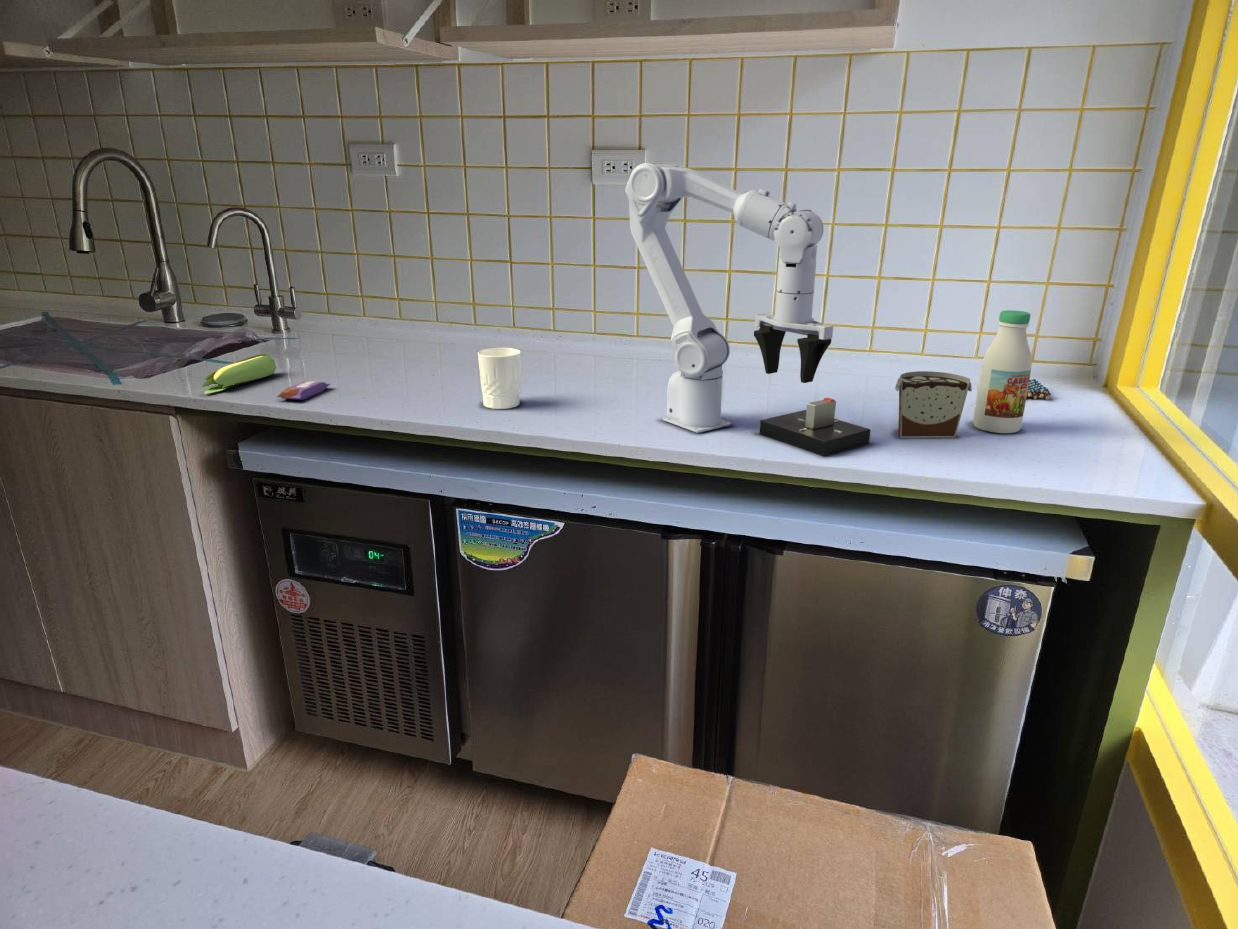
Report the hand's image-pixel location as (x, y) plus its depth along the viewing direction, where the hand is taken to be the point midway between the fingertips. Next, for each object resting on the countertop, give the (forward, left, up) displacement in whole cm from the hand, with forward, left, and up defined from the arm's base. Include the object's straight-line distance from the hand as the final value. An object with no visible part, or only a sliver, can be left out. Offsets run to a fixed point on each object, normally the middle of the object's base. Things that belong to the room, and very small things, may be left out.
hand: (788, 377), depth 132 cm
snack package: (-73, -56, -11) cm, 93 cm away
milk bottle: (+17, +35, -11) cm, 40 cm away
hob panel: (+3, +4, -10) cm, 11 cm away
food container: (+11, +22, -11) cm, 27 cm away
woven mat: (+6, +61, -11) cm, 62 cm away
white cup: (-45, -28, -11) cm, 54 cm away
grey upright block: (+4, +4, -8) cm, 10 cm away
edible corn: (-89, -64, -11) cm, 110 cm away
